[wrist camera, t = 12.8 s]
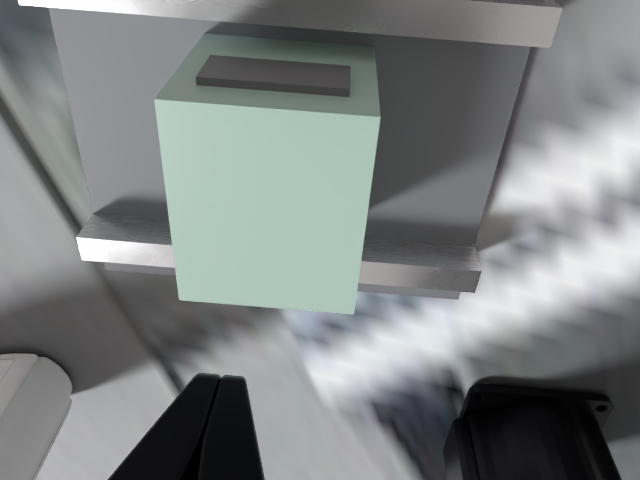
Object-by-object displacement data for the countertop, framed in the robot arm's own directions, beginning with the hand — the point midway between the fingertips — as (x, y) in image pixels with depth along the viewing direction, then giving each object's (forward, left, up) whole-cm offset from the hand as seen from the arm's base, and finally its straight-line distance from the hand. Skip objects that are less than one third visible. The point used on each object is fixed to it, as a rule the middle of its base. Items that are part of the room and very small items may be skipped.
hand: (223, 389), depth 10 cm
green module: (0, 0, -10) cm, 10 cm away
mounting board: (0, 0, -11) cm, 11 cm away
